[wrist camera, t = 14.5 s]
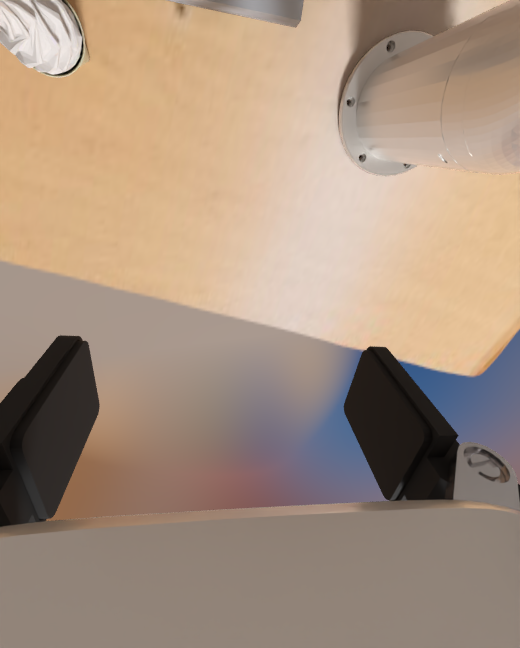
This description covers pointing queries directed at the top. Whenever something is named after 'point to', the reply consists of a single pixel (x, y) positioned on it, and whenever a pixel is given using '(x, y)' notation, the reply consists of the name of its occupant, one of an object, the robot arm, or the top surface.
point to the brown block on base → (255, 9)
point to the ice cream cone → (43, 35)
